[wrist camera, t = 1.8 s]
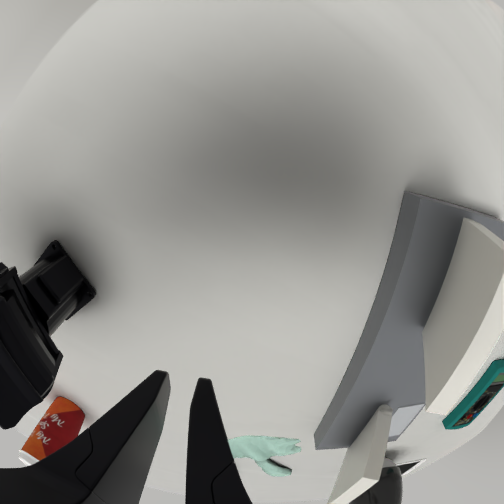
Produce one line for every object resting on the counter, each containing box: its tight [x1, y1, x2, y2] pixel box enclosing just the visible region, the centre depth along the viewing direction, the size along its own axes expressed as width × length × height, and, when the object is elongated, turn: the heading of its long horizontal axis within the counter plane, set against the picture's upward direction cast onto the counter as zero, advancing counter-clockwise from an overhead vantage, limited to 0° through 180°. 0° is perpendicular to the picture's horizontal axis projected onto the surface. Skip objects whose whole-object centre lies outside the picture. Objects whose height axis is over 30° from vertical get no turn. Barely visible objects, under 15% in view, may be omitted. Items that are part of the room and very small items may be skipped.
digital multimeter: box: [442, 359, 504, 429], centre depth 28 cm, size 7×15×3 cm, turn 165°
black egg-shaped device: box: [349, 457, 402, 504], centre depth 28 cm, size 10×10×15 cm
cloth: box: [228, 436, 301, 476], centre depth 34 cm, size 20×22×2 cm
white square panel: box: [422, 218, 504, 415], centre depth 14 cm, size 2×10×10 cm, turn 174°
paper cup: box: [18, 397, 85, 466], centre depth 25 cm, size 8×8×14 cm
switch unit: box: [314, 191, 504, 450], centre depth 23 cm, size 12×31×3 cm, turn 174°
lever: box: [327, 404, 393, 504], centre depth 21 cm, size 2×10×10 cm, turn 174°
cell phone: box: [396, 458, 427, 475], centre depth 39 cm, size 8×16×1 cm, turn 74°
